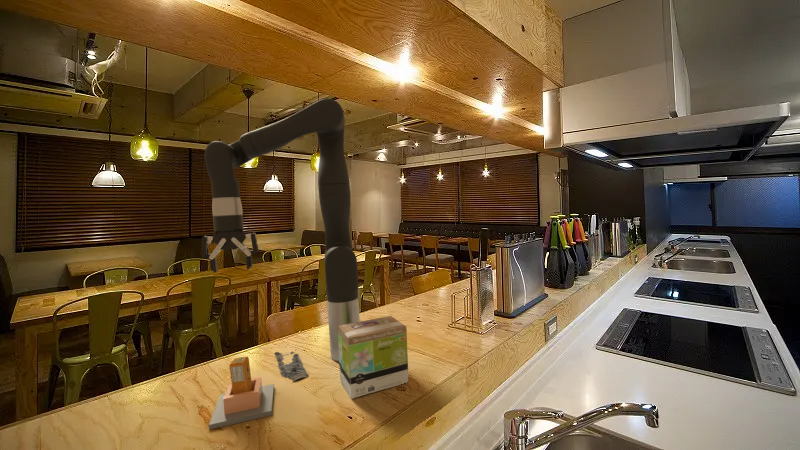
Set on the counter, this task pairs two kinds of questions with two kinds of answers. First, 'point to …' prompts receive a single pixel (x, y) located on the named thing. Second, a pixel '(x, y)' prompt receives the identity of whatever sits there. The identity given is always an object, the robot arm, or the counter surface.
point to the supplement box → (240, 375)
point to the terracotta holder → (243, 398)
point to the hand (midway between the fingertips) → (232, 270)
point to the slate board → (264, 410)
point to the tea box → (372, 355)
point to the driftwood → (291, 367)
